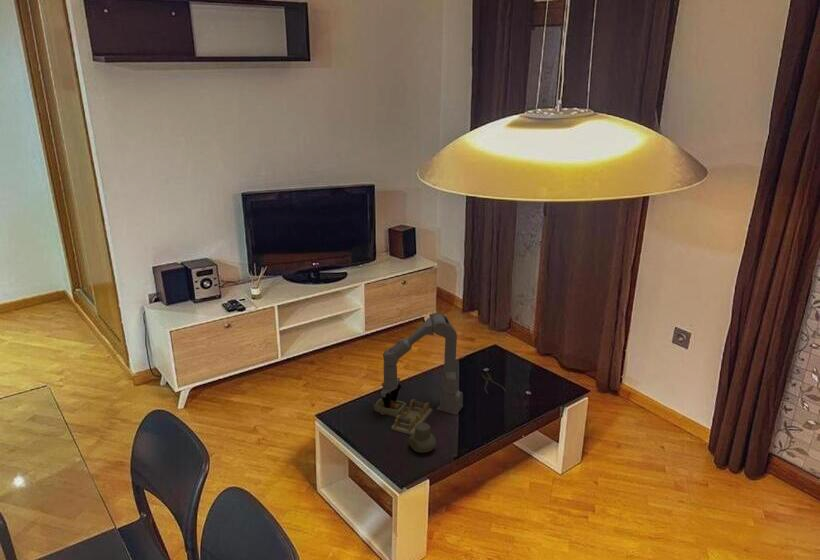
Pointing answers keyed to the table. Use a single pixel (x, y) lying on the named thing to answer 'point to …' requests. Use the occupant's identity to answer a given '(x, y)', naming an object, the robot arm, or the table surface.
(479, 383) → the table surface
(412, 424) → the fuse
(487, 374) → the pliers
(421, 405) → the fuse
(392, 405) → the cylinder
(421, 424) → the air freshener
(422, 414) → the fuse holder
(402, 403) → the tray
